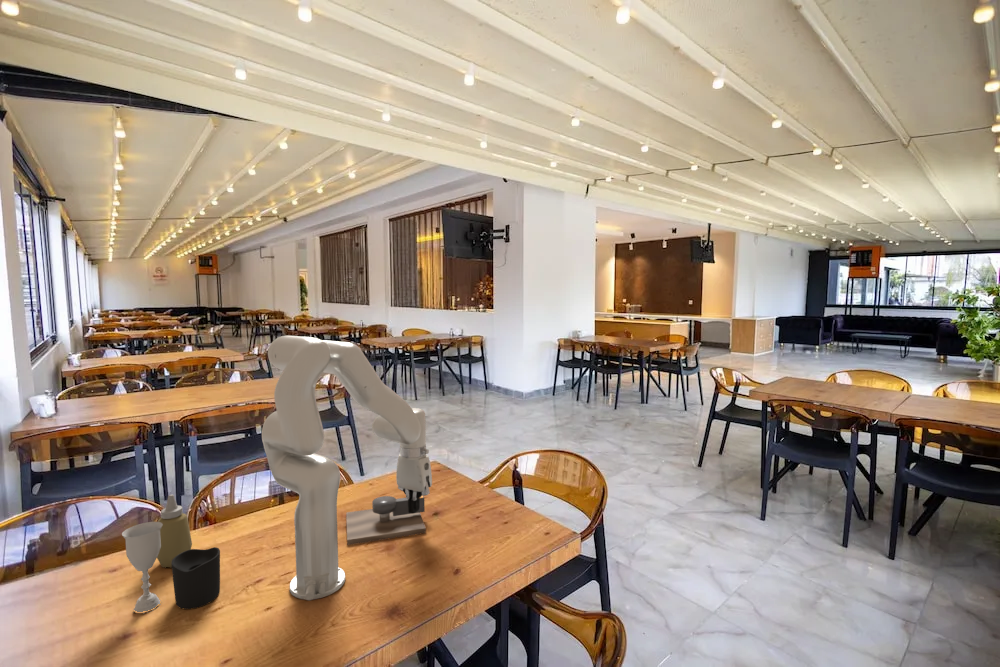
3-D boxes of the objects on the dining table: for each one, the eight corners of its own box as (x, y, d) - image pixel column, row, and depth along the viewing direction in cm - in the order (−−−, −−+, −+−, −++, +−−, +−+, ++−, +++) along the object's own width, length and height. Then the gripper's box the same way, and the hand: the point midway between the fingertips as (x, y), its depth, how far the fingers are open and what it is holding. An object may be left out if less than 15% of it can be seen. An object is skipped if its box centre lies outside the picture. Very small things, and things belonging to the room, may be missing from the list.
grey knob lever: (425, 515, 147) (425, 500, 147) (373, 522, 142) (373, 507, 142) (422, 505, 154) (422, 491, 154) (371, 512, 149) (371, 497, 149)
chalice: (161, 592, 113) (157, 518, 112) (171, 604, 109) (167, 527, 108) (122, 608, 108) (117, 530, 106) (131, 621, 103) (126, 540, 102)
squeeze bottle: (198, 559, 128) (195, 493, 126) (164, 574, 121) (160, 504, 119) (183, 551, 132) (180, 486, 131) (149, 564, 125) (145, 497, 124)
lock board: (425, 533, 142) (425, 517, 142) (347, 545, 135) (346, 528, 135) (416, 507, 159) (416, 493, 159) (346, 517, 152) (346, 502, 152)
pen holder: (208, 581, 118) (206, 542, 117) (230, 593, 113) (228, 552, 112) (165, 602, 110) (163, 560, 109) (187, 616, 105) (184, 572, 104)
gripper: (441, 450, 142) (442, 511, 144) (400, 443, 149) (401, 501, 150) (426, 458, 135) (427, 521, 137) (384, 450, 142) (385, 511, 144)
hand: (413, 511), depth 144 cm, fingers closed
